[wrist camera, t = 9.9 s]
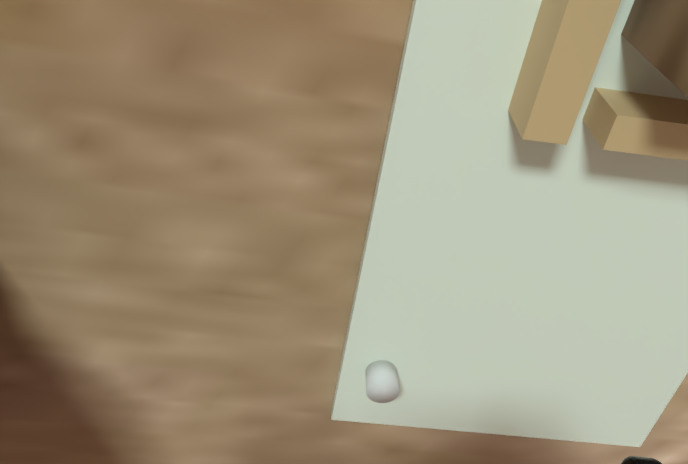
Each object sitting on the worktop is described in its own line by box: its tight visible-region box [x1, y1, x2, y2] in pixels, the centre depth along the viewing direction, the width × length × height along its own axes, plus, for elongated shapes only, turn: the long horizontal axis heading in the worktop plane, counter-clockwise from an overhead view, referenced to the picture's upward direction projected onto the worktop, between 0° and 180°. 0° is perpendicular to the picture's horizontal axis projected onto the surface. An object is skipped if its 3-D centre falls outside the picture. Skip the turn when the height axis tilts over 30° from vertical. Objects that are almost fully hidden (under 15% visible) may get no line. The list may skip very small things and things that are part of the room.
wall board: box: [331, 0, 688, 447], centre depth 18 cm, size 13×29×3 cm, turn 172°
